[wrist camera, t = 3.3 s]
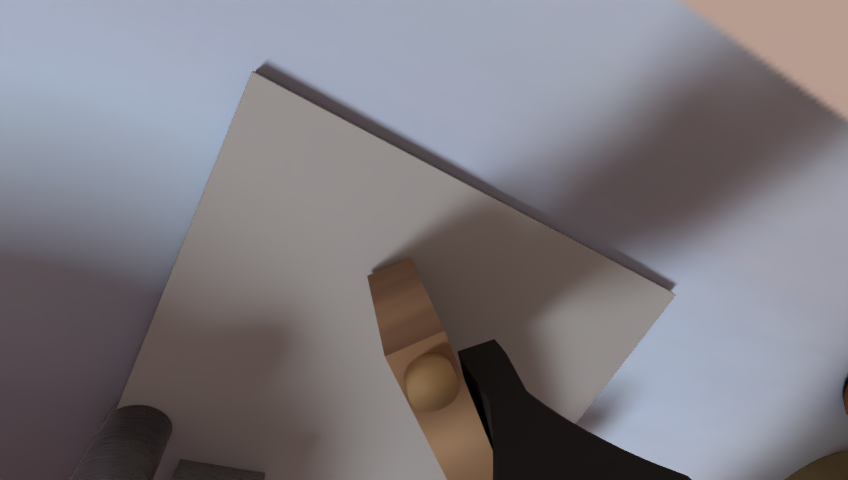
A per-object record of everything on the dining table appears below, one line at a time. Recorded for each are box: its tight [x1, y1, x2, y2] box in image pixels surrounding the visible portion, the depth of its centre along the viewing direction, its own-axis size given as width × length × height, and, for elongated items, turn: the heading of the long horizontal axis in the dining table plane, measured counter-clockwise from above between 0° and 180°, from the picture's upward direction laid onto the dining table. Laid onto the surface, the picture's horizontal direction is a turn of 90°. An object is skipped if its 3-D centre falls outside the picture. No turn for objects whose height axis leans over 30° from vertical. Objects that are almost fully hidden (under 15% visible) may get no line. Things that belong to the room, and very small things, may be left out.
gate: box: [367, 258, 493, 480], centre depth 14 cm, size 12×2×5 cm, turn 19°
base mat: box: [117, 72, 676, 480], centre depth 16 cm, size 16×17×1 cm
